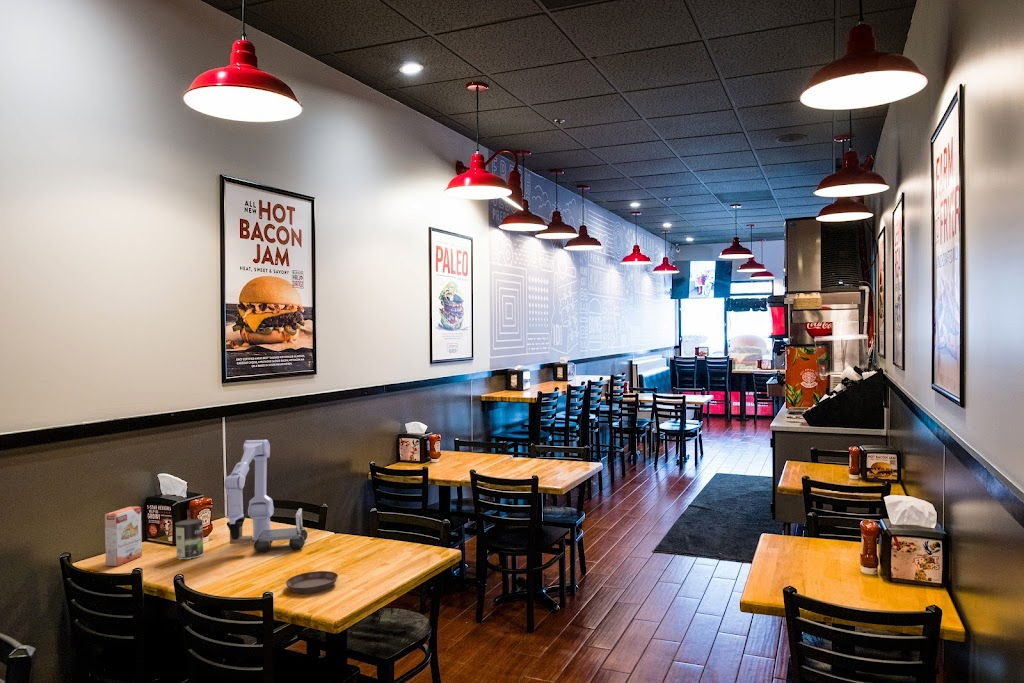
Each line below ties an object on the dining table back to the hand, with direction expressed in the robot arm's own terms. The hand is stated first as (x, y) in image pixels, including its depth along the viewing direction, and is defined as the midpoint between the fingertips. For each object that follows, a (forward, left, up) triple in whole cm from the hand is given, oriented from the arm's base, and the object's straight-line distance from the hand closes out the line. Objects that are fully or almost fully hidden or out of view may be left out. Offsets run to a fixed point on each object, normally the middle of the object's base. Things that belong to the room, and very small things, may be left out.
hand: (236, 537), depth 293 cm
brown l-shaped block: (0, +2, -2) cm, 3 cm away
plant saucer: (+50, +35, -8) cm, 61 cm away
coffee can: (-4, -19, -7) cm, 21 cm away
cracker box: (-4, -44, -7) cm, 45 cm away
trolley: (-6, +17, -7) cm, 19 cm away
